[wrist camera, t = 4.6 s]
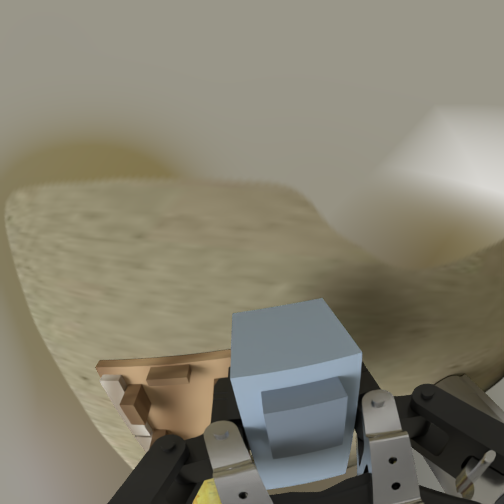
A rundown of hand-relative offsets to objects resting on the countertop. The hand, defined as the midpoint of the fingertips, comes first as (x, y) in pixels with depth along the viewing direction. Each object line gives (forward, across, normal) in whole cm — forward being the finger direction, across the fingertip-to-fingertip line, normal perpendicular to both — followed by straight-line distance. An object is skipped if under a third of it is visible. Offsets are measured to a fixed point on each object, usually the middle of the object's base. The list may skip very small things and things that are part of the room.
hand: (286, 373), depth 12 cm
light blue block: (0, 0, 0) cm, 1 cm away
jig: (+6, +8, +8) cm, 13 cm away
